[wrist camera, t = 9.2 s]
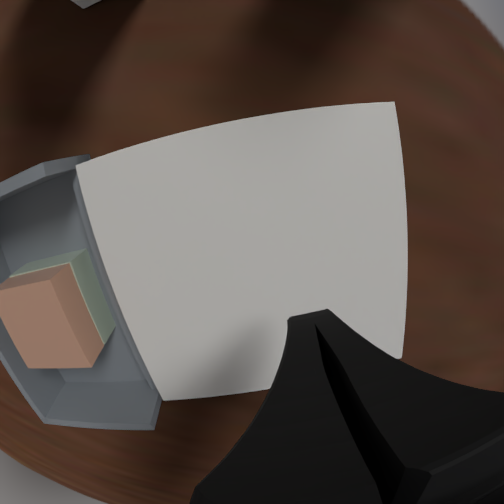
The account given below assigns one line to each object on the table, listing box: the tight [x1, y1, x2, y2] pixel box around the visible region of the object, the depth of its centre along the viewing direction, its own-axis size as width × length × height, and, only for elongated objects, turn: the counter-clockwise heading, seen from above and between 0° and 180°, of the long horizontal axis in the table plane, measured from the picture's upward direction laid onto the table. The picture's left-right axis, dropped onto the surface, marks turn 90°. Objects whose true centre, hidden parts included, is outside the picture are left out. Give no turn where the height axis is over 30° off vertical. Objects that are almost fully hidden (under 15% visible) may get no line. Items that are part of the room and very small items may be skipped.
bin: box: [0, 154, 162, 430], centre depth 15 cm, size 15×9×4 cm, turn 11°
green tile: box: [9, 248, 116, 344], centre depth 16 cm, size 5×5×2 cm
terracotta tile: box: [0, 263, 104, 368], centre depth 14 cm, size 5×5×2 cm
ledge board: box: [75, 102, 408, 401], centre depth 16 cm, size 14×14×2 cm
